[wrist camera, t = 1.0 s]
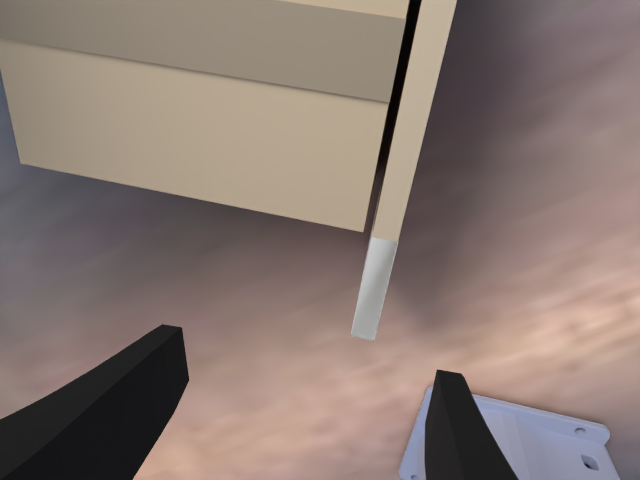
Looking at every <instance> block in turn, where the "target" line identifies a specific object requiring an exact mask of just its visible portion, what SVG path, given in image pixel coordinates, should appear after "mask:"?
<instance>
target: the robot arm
mask: <svg viewBox="0 0 640 480" xmlns="http://www.w3.org/2000/svg"><path fill="white" fill-rule="evenodd" d="M188 381H189V376H188V368H187V361H186V354H185V347H184V339H183V332H182V328H181V327H175V326H169V325H163V324H162V325H161V326H159V327H157V328H156V329H154V330H152V331H151V332H149V333H148V334H146V335H145V336H143V337H142V338H140V339H139V340H137V341H136V342H134V343H133V344H131V345H129V346H128V347H126V348H125V349H123V350H122V351H120V352H119V353H117V354H116V355H114V356H113V357H111V358H109V359H108V360H106V361H105V362H103V363H102V364H100V365H98V366H97V367H95V368H94V369H92V370H90V371H89V372H87V373H85V374H84V375H82V376H80V377H79V378H77V379H75V380H74V381H72V382H70V383H68V384H67V385H65V386H63V387H62V388H60V389H58V390H57V391H55V392H53V393H51V394H49V395H48V396H46V397H44V398H42V399H40V400H38V401H36V402H35V403H33V404H31V405H29V406H27V407H25V408H23V409H21V410H19V411H17V412H15V413H13V414H11V415H9V416H7V417H5V418H2V419H0V480H133V478H134V476H135V475H136V473H137V472H138V470H139V468H140V467H141V465H142V464H143V462H144V460H145V459H146V457H147V456H148V454H149V452H150V451H151V449H152V448H153V446H154V444H155V443H156V441H157V440H158V438H159V436H160V435H161V433H162V432H163V430H164V428H165V427H166V425H167V423H168V422H169V420H170V419H171V417H172V415H173V414H174V412H175V410H176V407H177V405H178V403H179V401H180V399H181V397H182V395H183V393H184V390H185V388H186V386H187V384H188ZM610 436H611V435H610V432H609V430H608V428H607V427H606V426H605V425H603V424H599V423H595V422H591V421H586V420H582V419H578V418H574V417H569V416H565V415H561V414H557V413H552V412H548V411H544V410H540V409H535V408H531V407H527V406H523V405H518V404H514V403H510V402H506V401H501V400H497V399H493V398H489V397H485V396H480V395H476V394H472V393H471V392H470V389H469V387H468V385H467V383H466V380H465V378H464V377H463V375H462V374H461V373H455V372H449V371H442V370H437V372H436V377H435V381H434V385H433V386H430V387H428V388H427V390H426V392H425V395H424V398H423V401H422V404H421V407H420V410H419V412H418V415H417V418H416V421H415V424H414V427H413V430H412V433H411V435H410V438H409V441H408V444H407V447H406V450H405V453H404V455H403V458H402V461H401V464H400V467H399V476H400V478H402V479H403V480H620V478H619V476H618V474H617V472H616V469H615V467H614V465H613V463H612V461H611V458H610V456H609V454H608V452H607V450H606V448H605V446H604V445H605V444H606V442H607V441H608V440H609V438H610Z"/></svg>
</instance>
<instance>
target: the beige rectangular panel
mask: <svg viewBox="0 0 640 480" xmlns="http://www.w3.org/2000/svg"><path fill="white" fill-rule="evenodd" d="M456 3H457V0H420V2H419V7H418V12H417V17H416V21H415V26H414V31H413V36H412V41H411V45H410V50H409V55H408V60H407V64H406V69H405V74H404V79H403V84H402V88H401V93H400V98H399V103H398V107H397V112H396V117H395V122H394V127H393V131H392V136H391V141H390V146H389V150H388V155H387V160H386V165H385V170H384V174H383V177H382V182H381V186H380V191H379V196H378V201H377V206H376V210H375V215H374V220H373V225H372V230H371V234H370V239H369V244H368V249H367V253H366V258H365V264H364V269H363V274H362V279H361V284H360V289H359V295H358V300H357V305H356V310H355V315H354V321H353V326H352V331H351V336H354V337H358V338H363V339H367V340H372V341H374V339H375V335H376V331H377V327H378V323H379V319H380V315H381V311H382V306H383V302H384V298H385V294H386V290H387V286H388V282H389V278H390V274H391V270H392V266H393V262H394V258H395V254H396V250H397V246H398V239H399V235H400V231H401V227H402V223H403V218H404V214H405V210H406V206H407V202H408V198H409V194H410V190H411V186H412V182H413V178H414V174H415V170H416V166H417V161H418V157H419V153H420V149H421V145H422V141H423V137H424V133H425V129H426V125H427V121H428V117H429V113H430V109H431V104H432V100H433V96H434V92H435V88H436V84H437V80H438V76H439V72H440V68H441V64H442V60H443V56H444V52H445V47H446V43H447V39H448V35H449V31H450V27H451V23H452V19H453V15H454V11H455V7H456Z"/></svg>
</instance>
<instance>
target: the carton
mask: <svg viewBox="0 0 640 480" xmlns="http://www.w3.org/2000/svg"><path fill="white" fill-rule="evenodd" d="M410 5H411V0H0V70H1V75H2V80H3V84H4V89H5V93H6V98H7V103H8V107H9V112H10V117H11V121H12V126H13V131H14V135H15V140H16V144H17V149H18V154H19V158H20V163H21V164H26V165H31V166H36V167H41V168H46V169H51V170H56V171H61V172H66V173H71V174H76V175H81V176H86V177H91V178H96V179H100V180H105V181H110V182H115V183H120V184H125V185H130V186H135V187H140V188H145V189H150V190H155V191H160V192H165V193H170V194H175V195H180V196H185V197H190V198H195V199H200V200H205V201H210V202H215V203H220V204H225V205H230V206H235V207H240V208H245V209H250V210H255V211H260V212H265V213H270V214H275V215H280V216H285V217H290V218H295V219H300V220H305V221H310V222H314V223H319V224H324V225H329V226H334V227H339V228H344V229H349V230H354V231H359V232H363V231H364V226H365V222H366V217H367V213H368V209H369V204H370V200H371V196H372V191H373V187H374V183H375V178H376V174H377V169H378V164H379V159H380V154H381V149H382V144H383V139H384V134H385V129H386V124H387V119H388V114H389V109H390V104H391V99H392V94H393V89H394V84H395V79H396V74H397V69H398V64H399V59H400V54H401V50H402V45H403V40H404V35H405V30H406V25H407V20H408V15H409V10H410Z"/></svg>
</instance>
